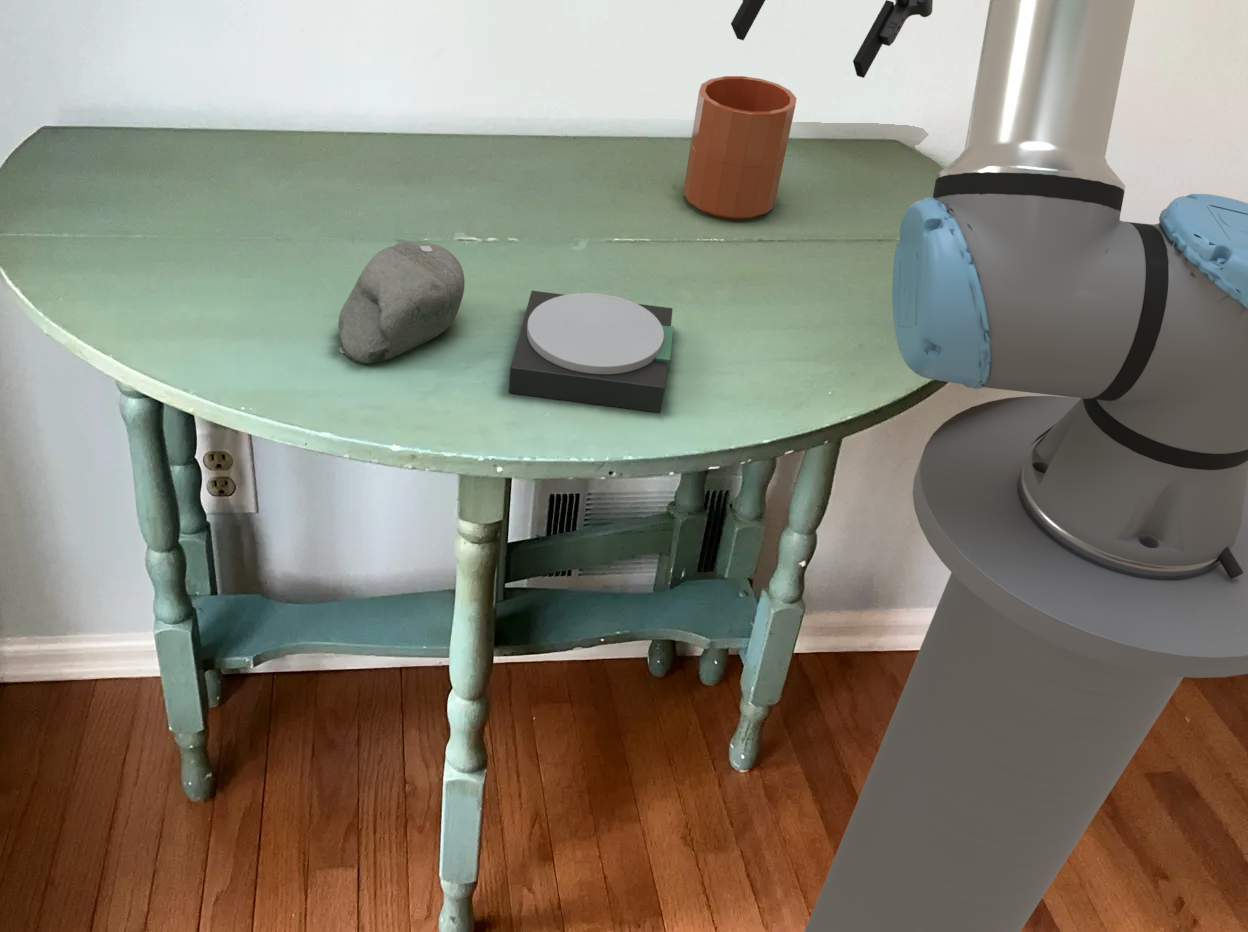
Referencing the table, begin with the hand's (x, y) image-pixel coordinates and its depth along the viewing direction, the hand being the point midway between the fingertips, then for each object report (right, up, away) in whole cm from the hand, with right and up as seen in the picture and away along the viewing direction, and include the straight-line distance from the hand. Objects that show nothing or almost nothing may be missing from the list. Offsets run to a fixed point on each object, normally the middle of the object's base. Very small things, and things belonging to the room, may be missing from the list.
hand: (796, 50), depth 117 cm
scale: (-21, -34, -20) cm, 45 cm away
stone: (-37, -31, -18) cm, 52 cm away
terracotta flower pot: (-6, -14, +3) cm, 16 cm away
